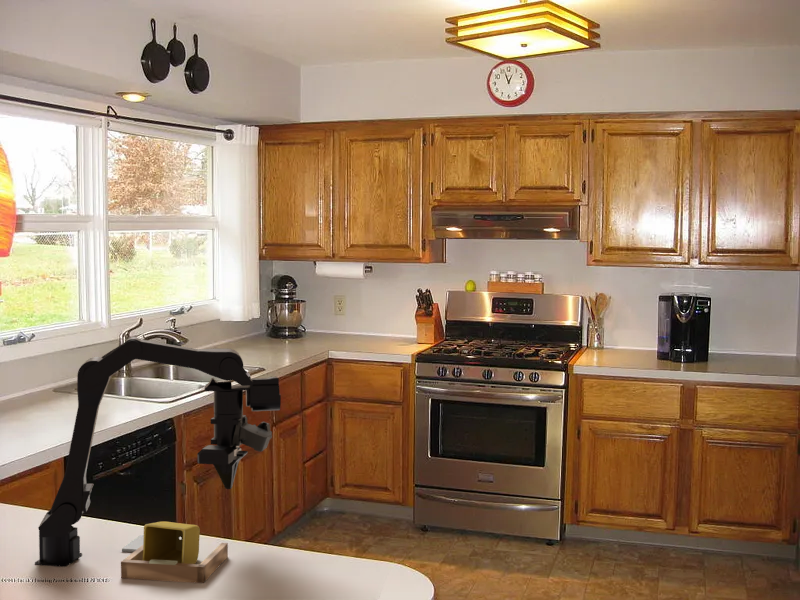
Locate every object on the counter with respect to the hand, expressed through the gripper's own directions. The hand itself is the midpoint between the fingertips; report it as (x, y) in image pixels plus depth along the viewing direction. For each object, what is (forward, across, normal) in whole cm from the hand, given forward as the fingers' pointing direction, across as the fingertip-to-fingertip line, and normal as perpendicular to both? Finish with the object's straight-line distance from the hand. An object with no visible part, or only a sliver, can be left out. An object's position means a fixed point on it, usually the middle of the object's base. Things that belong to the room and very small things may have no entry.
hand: (228, 488), depth 171 cm
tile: (+12, -2, +16) cm, 20 cm away
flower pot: (+8, -6, +6) cm, 12 cm away
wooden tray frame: (+12, -13, +6) cm, 19 cm away
